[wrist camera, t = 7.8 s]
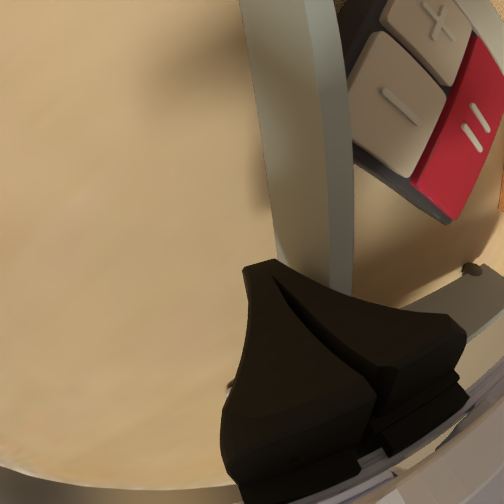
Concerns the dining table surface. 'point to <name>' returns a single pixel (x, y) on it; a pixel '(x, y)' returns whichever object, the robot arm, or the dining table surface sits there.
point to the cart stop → (502, 196)
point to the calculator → (424, 95)
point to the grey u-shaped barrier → (327, 156)
